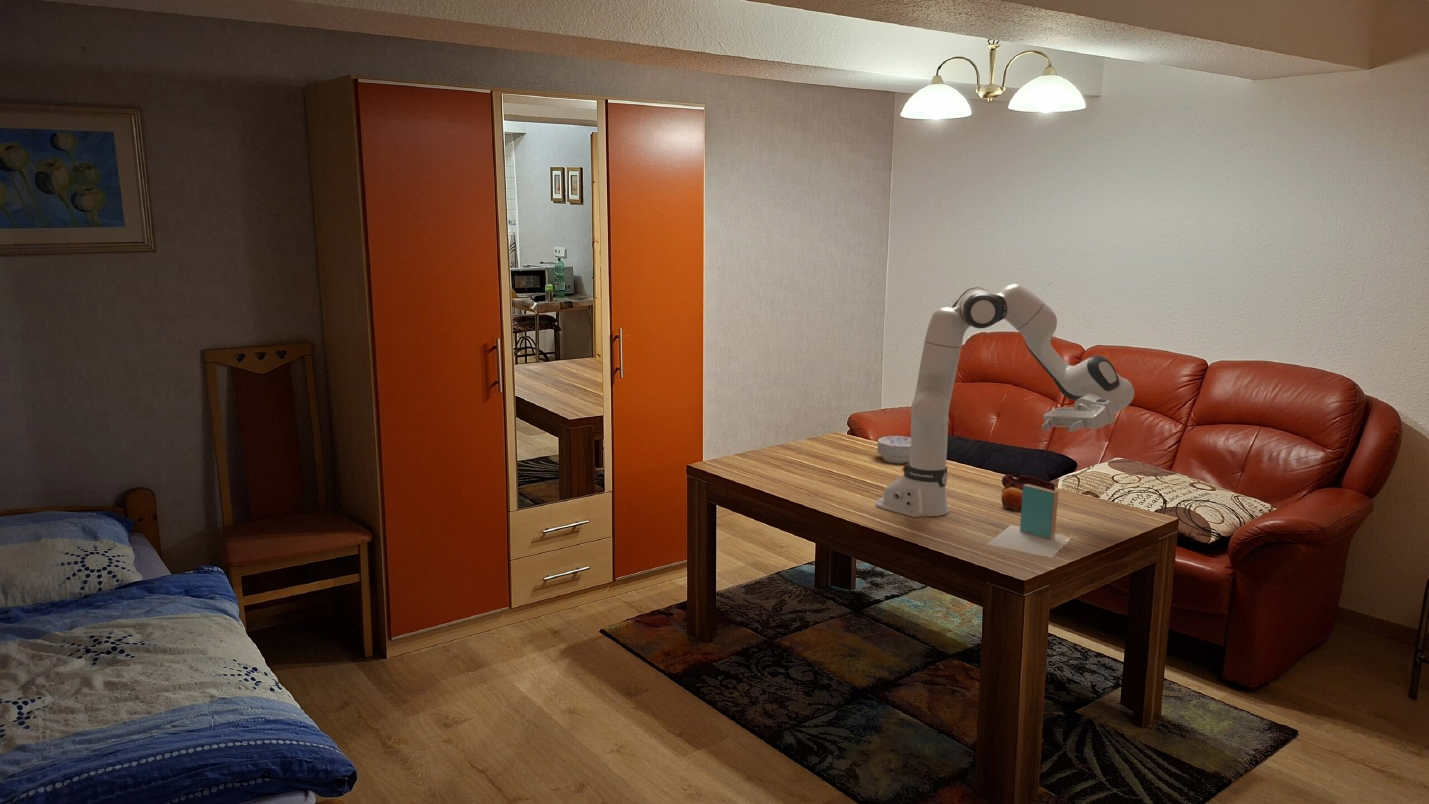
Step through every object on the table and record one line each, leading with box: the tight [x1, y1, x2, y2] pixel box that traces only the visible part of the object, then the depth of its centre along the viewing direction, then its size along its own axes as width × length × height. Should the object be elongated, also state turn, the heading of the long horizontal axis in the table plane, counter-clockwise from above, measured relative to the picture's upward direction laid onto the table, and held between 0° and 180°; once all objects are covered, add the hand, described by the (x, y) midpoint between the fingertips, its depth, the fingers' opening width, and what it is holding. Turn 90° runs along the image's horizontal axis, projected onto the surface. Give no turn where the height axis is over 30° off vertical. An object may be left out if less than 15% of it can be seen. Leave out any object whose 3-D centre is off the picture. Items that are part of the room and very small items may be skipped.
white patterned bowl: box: [877, 435, 911, 464], centre depth 358 cm, size 15×15×8 cm
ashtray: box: [1001, 473, 1056, 491], centre depth 315 cm, size 18×16×5 cm
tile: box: [1019, 484, 1059, 540], centre depth 274 cm, size 2×10×14 cm, turn 40°
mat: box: [986, 524, 1070, 559], centre depth 271 cm, size 18×21×1 cm
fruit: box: [1001, 487, 1023, 512], centre depth 300 cm, size 8×8×8 cm
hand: (1056, 428), depth 274 cm, fingers open, 8 cm apart
